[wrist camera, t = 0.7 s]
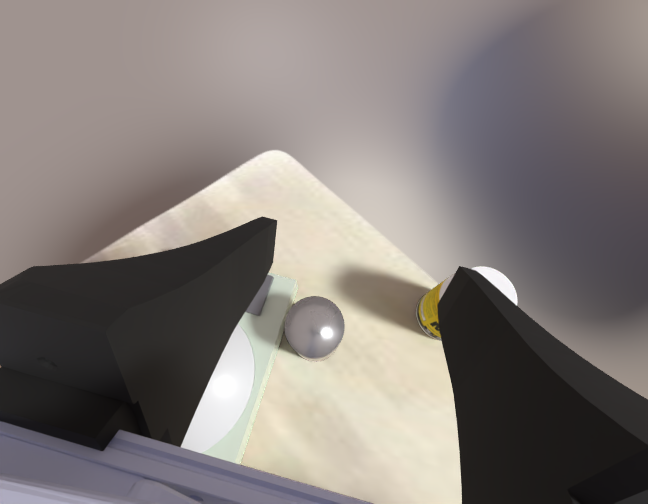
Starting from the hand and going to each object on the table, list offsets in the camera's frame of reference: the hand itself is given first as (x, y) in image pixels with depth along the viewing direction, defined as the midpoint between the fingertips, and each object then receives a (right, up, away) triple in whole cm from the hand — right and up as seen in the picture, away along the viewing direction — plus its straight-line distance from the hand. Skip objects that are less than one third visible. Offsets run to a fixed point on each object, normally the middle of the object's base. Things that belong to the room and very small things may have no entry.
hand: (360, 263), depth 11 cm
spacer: (-2, -7, +15) cm, 17 cm away
